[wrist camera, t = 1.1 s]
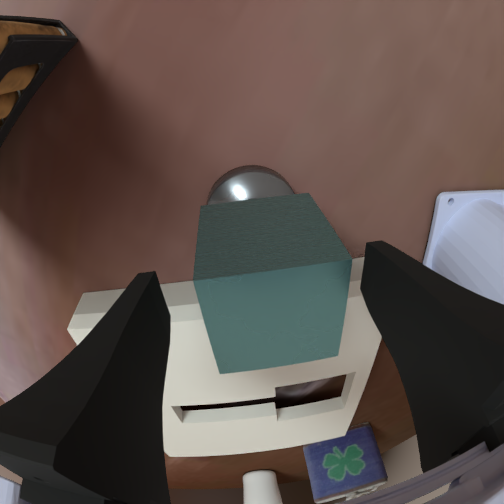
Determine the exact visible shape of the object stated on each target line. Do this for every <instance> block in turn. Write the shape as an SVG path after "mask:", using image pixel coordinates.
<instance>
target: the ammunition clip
mask: <svg viewBox="0 0 504 504" xmlns="http://www.w3.org/2000/svg"><path fill="white" fill-rule="evenodd" d="M76 42H77V38H76V37H75V36H74V35H73V34H72V33H71V32H70V31H69V30H68V29H67V27H66V26H65V25H64V24H63V23H62V22H61V21H60V20H54V19H45V18H35V17H21V16H2V15H0V147H1V145H2V143H3V142H4V140H5V138H6V137H7V135H8V133H9V132H10V130H11V128H12V127H13V125H14V123H15V122H16V120H17V119H18V117H19V116H20V114H21V112H22V111H23V109H24V108H25V107H26V105H27V104H28V102H29V101H30V99H31V98H32V96H33V95H34V94H35V92H36V91H37V90H38V88H39V87H40V86H41V84H42V83H43V82H44V80H45V79H46V78H47V76H48V75H49V74H50V73H51V71H52V70H53V69H54V68H55V66H56V65H57V64H58V63H59V62H60V61H61V59H62V58H63V57H64V56H65V55H66V54H67V52H68V51H69V50H70V49H71V48H72V47H73V46H74V45H75V44H76Z"/></svg>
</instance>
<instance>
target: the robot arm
mask: <svg viewBox="0 0 504 504" xmlns="http://www.w3.org/2000/svg"><path fill="white" fill-rule="evenodd" d="M449 199H450V201H449ZM448 201H449V202H448ZM360 290H361V293H362V296H363V298H364V301H365V304H366V306H367V309H368V311H369V313H370V315H371V317H372V319H373V321H374V323H375V325H376V327H377V329H378V330H379V332H380V334H381V336H382V338H383V340H384V342H385V344H386V346H387V348H388V349H389V351H390V353H391V355H392V357H393V359H394V362H395V364H396V366H397V368H398V371H399V374H400V377H401V380H402V382H403V385H404V388H405V391H406V395H407V398H408V402H409V405H410V409H411V412H412V417H413V421H414V425H415V430H416V434H417V440H418V447H419V453H420V461H421V468H422V471H423V474H421V475H418V476H416V477H414V478H411V479H409V480H406V481H404V482H401V483H399V484H396V485H394V486H391V487H388V488H385V489H382V490H379V491H377V492H374V493H370V494H368V495H364V496H361V497H358V498H354V499H351V500H347V501H343V502H340V503H336V504H405V503H407V502H410V501H412V500H415V499H416V498H419V497H421V496H424V495H426V494H428V493H430V492H432V491H434V490H436V489H438V488H440V487H442V486H444V485H446V484H448V483H450V482H451V484H450V486H449V490H448V491H447V492H446V493H444V494H442V495H440V496H438V497H436V498H435V499H432V500H430V501H428V502H426V503H424V504H504V190H481V191H458V192H443V193H440V194H439V195H438V197H437V199H436V204H435V210H434V215H433V220H432V225H431V230H430V235H429V239H428V244H427V248H426V252H425V256H424V260H423V264H422V263H420V262H418V261H417V260H415V259H413V258H412V257H410V256H409V255H407V254H405V253H404V252H402V251H400V250H399V249H397V248H395V247H393V246H392V245H390V244H388V243H386V242H384V241H375V242H367V243H366V249H365V257H364V264H363V271H362V278H361V284H360ZM170 333H171V315H170V312H169V309H168V307H167V304H166V301H165V298H164V295H163V292H162V290H161V287H160V284H159V281H158V278H157V275H156V272H155V271H153V272H146V273H139V274H138V275H137V276H136V277H135V278H134V279H133V280H132V282H131V283H130V284H129V285H128V287H127V288H126V289H125V290H124V292H123V293H122V294H121V295H120V297H119V298H118V299H117V300H116V301H115V303H114V304H113V305H112V306H111V308H110V309H109V310H108V311H107V313H106V314H105V315H104V316H103V317H102V318H101V320H100V321H99V322H98V323H97V324H96V325H95V327H94V328H93V329H92V330H91V331H90V332H89V334H88V335H87V336H86V337H85V338H84V339H83V340H82V341H81V342H80V343H79V344H78V345H77V346H76V347H75V348H74V349H73V350H72V351H71V352H70V353H69V354H68V355H67V356H66V357H65V358H64V359H63V360H62V361H61V362H59V363H58V364H57V365H56V366H55V367H54V368H53V369H51V370H50V371H49V372H48V373H47V374H46V375H45V376H43V377H42V378H41V379H40V380H38V381H37V382H36V383H34V384H33V385H32V386H30V387H29V388H28V389H26V390H25V391H23V392H22V393H20V394H19V395H17V396H16V397H14V398H13V399H11V400H10V401H8V402H6V403H5V404H3V405H1V406H0V464H1V465H2V466H4V467H6V468H7V469H9V470H10V471H12V472H13V473H15V474H17V475H19V476H20V477H22V478H23V481H22V485H21V484H18V483H16V482H14V481H12V480H9V479H7V478H4V477H2V476H0V504H171V502H170V496H169V490H168V483H167V476H166V467H165V458H164V444H163V412H162V407H163V393H164V385H165V377H166V370H167V362H168V355H169V347H170Z"/></svg>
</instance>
